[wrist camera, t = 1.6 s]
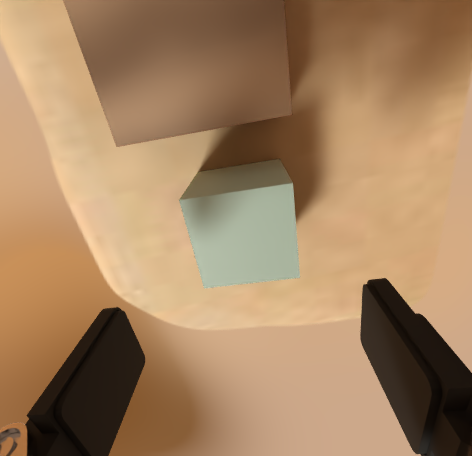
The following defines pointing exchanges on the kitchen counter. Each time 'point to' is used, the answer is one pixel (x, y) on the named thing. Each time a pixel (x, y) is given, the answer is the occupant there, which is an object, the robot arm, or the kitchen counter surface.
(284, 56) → the walnut block
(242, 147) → the kitchen counter surface
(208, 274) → the sage cube
